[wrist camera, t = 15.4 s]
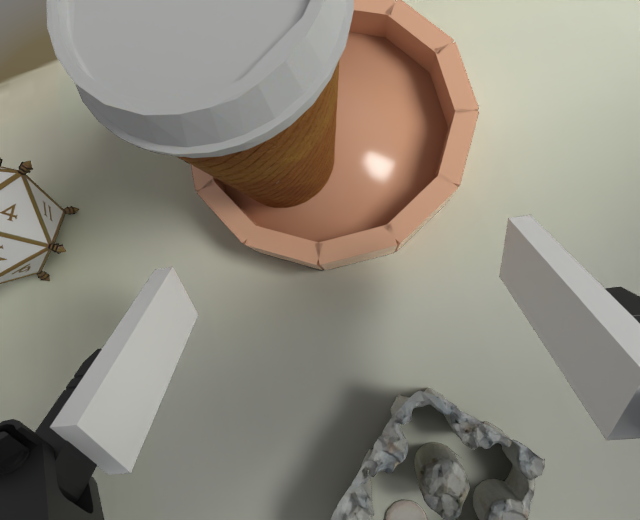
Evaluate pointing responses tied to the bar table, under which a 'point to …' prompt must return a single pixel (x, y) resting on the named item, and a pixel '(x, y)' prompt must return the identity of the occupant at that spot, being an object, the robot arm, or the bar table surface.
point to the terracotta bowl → (372, 147)
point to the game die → (26, 225)
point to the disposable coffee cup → (214, 83)
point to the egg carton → (443, 469)
